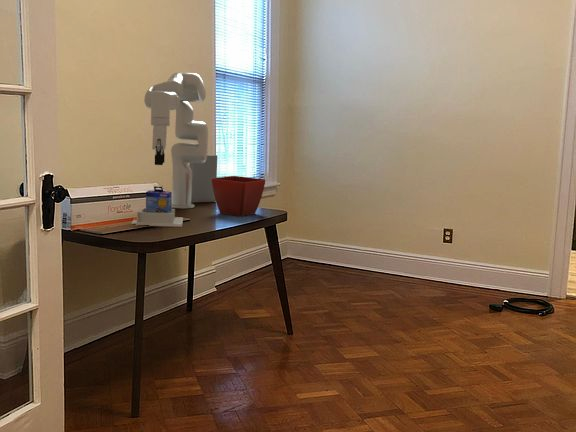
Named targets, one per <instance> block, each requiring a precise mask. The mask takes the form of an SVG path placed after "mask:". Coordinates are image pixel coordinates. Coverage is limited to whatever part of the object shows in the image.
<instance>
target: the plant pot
mask: <svg viewBox="0 0 576 432" xmlns="http://www.w3.org/2000/svg"><path fill="white" fill-rule="evenodd" d="M265 185H266V179H263V178H255V177H248V176H240V175H239V176H238V175H229V176H221V177H220V176H219V177H218V176H217V178H212V186H213V191H214V196H215V200H216V202H215V203H216V207H217V209H218V212H219V214H223V215H229V216H235V215H236V216H237V217H245V215H246V216H250V215H254V214H256V212H257V210H258V208H259V205H260V202H261V199H262V196H263V193H264V189H265ZM253 213H254V214H253ZM236 216H235V217H236Z"/></svg>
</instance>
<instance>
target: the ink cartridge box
mask: <svg viewBox="0 0 576 432" xmlns="http://www.w3.org/2000/svg"><path fill="white" fill-rule="evenodd" d="M171 203H172V191H167V190H166V191H165V190H164V188H163V186H155V185H154V186H153V190H151V189H150V190H147V191H146V192H145V208H146V212H157V213H171V209H172V207H171Z"/></svg>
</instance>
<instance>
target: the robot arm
mask: <svg viewBox="0 0 576 432" xmlns="http://www.w3.org/2000/svg"><path fill="white" fill-rule="evenodd" d="M206 97H207V91H206V87H205V85H204V81H203V79H202V77H201V76H200V75H199V74H198V73H195V72H179V71H178V72H173V73H172V74H171V75H170V77H169V78H168V80H167V81H163V82H160V83H157V84H154V85H152V86H150V87H149V88H148V90H146V93H145V94H144V101H143V102H144V105H145V107H146V108H147V109H150V126H153V127H152V145H151V146H152V148H151V150H153V151H154V150H155V152H154V165H156V166H163V164H164V163H165V155H166V154H165V150H166V148H167V147H166V146H167V130H168V128H167V127H170V125H171V124H170V123H171V122H170V120H171V119H170V118H171V115H170V114H171V111H175V123H174V125H175V127H174V128H175V130H174V132H175V137H176V138H177V139H178V140H181V141H194V142H197V143H189V142H177V143H174V144H173V145H172V146H171V149H170V153H171V154H170V155H171V162H172V175H171V177H172V178H171V179H172V184H171V185H172V186H171V187H172V189H171V190H172V191H171V192H172V203H171V209H193V208H195V204H194V203H192V202H191V196H192V170H191V168H190V167H189V164H190V163H204V162H206V160H207V155H208V150H209V149H208V148H209V147H208V145H209V127H208V125H207V123H206V122H204V121H199V120H198V121H197V120H194V114H195V113H194V109H193V107H192V105H191V104H190V103H203V102H204V101H205V99H206Z"/></svg>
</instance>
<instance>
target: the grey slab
mask: <svg viewBox="0 0 576 432" xmlns="http://www.w3.org/2000/svg"><path fill="white" fill-rule="evenodd" d="M188 166H189V167H190V168H191V170H192V196H191V204H194V203H216V200H215V196H214V191H213V186H212V178H218V176H217V175H218V155H217V154H207V160H206V162H204V163H189V164H188Z"/></svg>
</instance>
